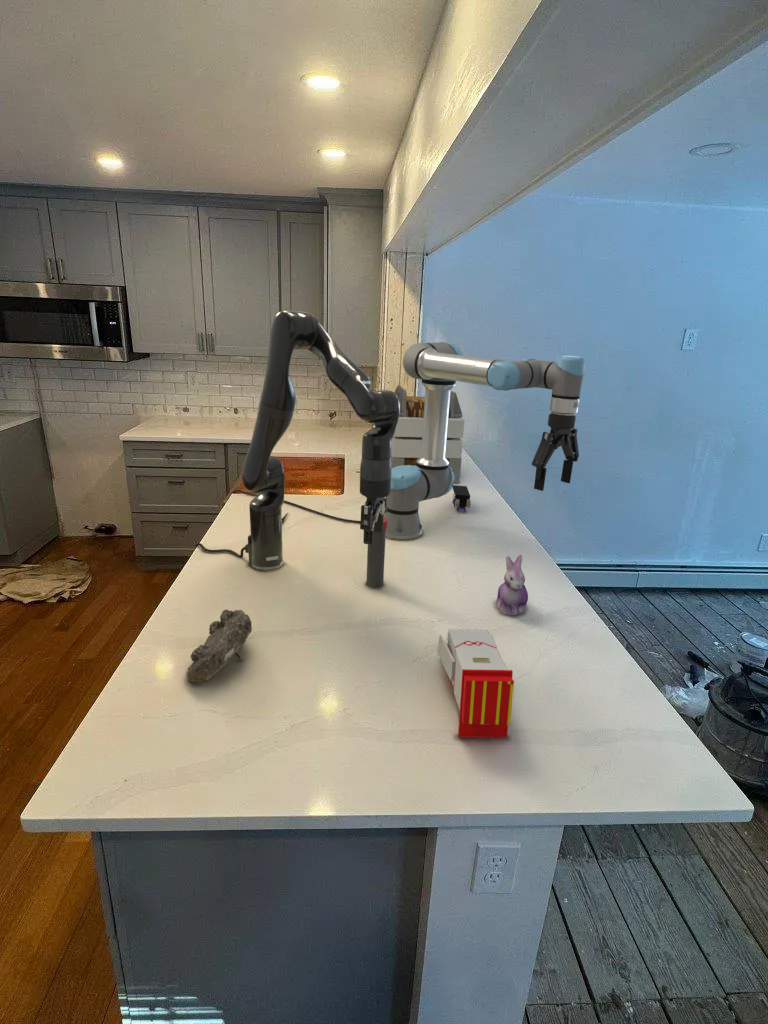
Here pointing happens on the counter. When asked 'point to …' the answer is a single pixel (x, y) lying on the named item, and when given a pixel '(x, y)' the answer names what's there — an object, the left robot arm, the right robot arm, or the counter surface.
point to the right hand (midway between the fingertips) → (552, 485)
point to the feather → (283, 518)
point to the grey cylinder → (376, 560)
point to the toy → (478, 682)
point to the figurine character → (461, 497)
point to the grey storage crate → (411, 431)
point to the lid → (383, 523)
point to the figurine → (512, 589)
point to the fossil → (219, 645)
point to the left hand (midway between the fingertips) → (373, 537)
